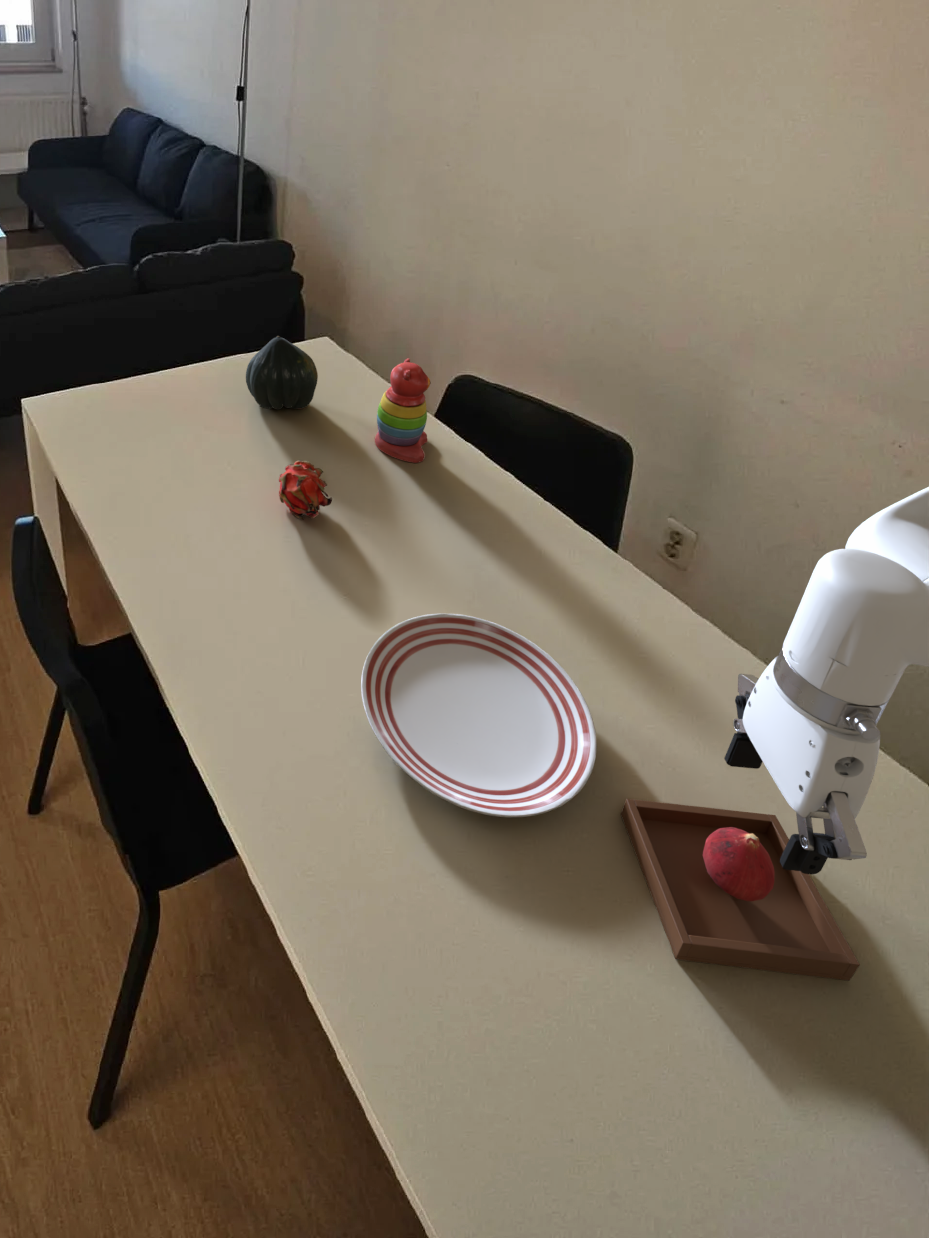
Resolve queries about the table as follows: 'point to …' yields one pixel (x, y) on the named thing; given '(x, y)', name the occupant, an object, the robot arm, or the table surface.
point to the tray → (718, 922)
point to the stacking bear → (403, 414)
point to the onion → (739, 864)
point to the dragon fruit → (303, 489)
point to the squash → (281, 376)
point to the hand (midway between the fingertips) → (768, 812)
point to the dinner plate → (478, 715)
